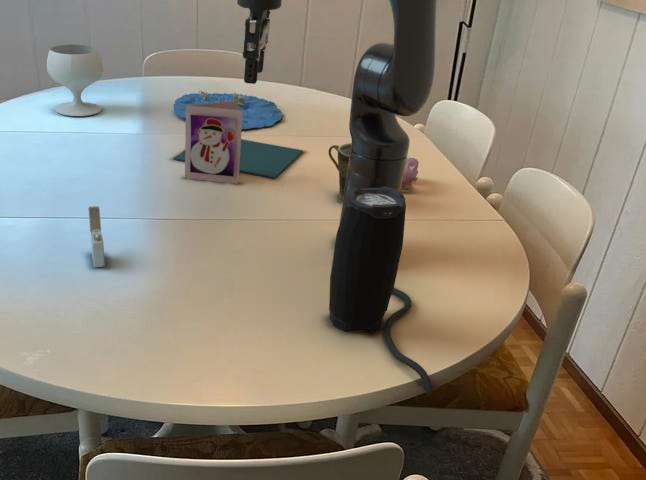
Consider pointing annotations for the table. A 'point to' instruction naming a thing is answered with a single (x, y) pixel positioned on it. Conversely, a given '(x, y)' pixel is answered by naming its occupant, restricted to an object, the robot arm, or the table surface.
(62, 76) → the chalice
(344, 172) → the ceramic cup
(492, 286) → the table surface
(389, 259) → the portable speaker
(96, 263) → the lighter
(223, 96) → the decorative plate
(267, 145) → the placemat
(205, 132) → the greeting card
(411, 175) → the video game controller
